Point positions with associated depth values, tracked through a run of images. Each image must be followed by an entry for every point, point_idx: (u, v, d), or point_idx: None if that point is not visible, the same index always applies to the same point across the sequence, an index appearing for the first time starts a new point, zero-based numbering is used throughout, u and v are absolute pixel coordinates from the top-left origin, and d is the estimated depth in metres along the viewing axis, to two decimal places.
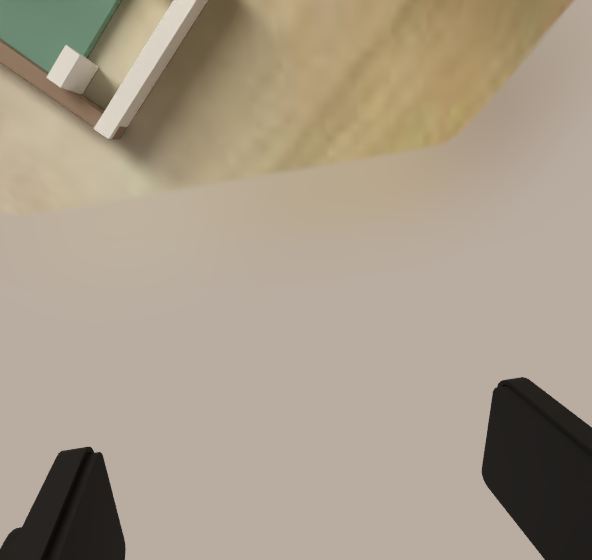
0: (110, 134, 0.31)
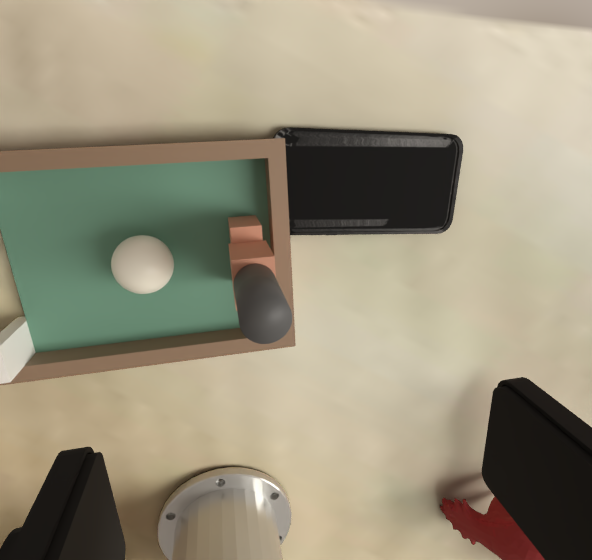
0: None
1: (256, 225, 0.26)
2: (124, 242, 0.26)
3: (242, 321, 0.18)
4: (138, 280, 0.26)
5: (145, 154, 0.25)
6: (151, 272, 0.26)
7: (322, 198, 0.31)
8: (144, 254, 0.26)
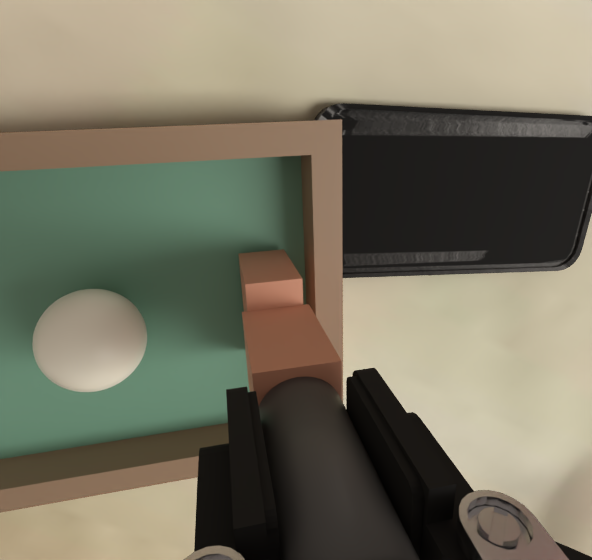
0: None
1: (292, 278, 0.14)
2: (55, 306, 0.15)
3: None
4: (78, 377, 0.14)
5: (87, 149, 0.14)
6: (102, 362, 0.14)
7: (388, 219, 0.19)
8: (88, 330, 0.14)
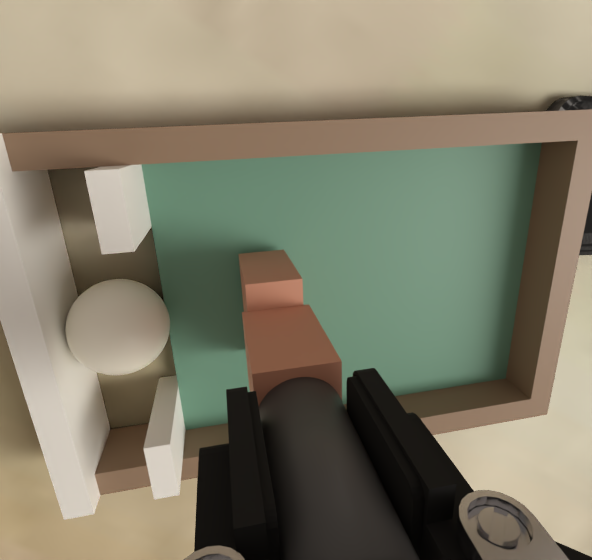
0: None
1: (292, 278, 0.14)
2: (112, 295, 0.16)
3: None
4: (164, 339, 0.17)
5: (406, 134, 0.16)
6: (169, 321, 0.17)
7: None
8: (157, 298, 0.17)
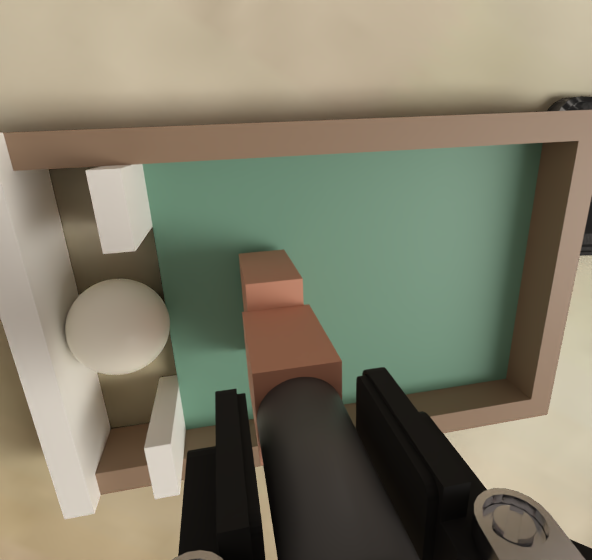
0: None
1: (292, 278, 0.14)
2: (111, 295, 0.16)
3: None
4: (163, 339, 0.17)
5: (407, 134, 0.16)
6: (169, 321, 0.17)
7: None
8: (156, 298, 0.17)
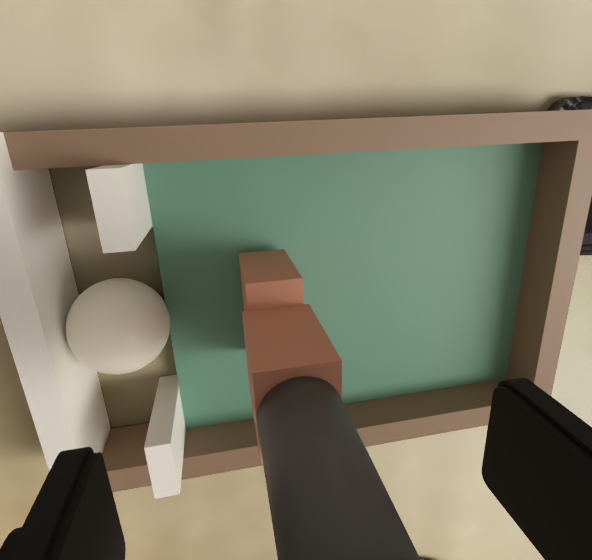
0: None
1: (292, 277, 0.14)
2: (112, 294, 0.16)
3: None
4: (164, 338, 0.17)
5: (407, 133, 0.16)
6: (169, 320, 0.17)
7: None
8: (157, 297, 0.17)
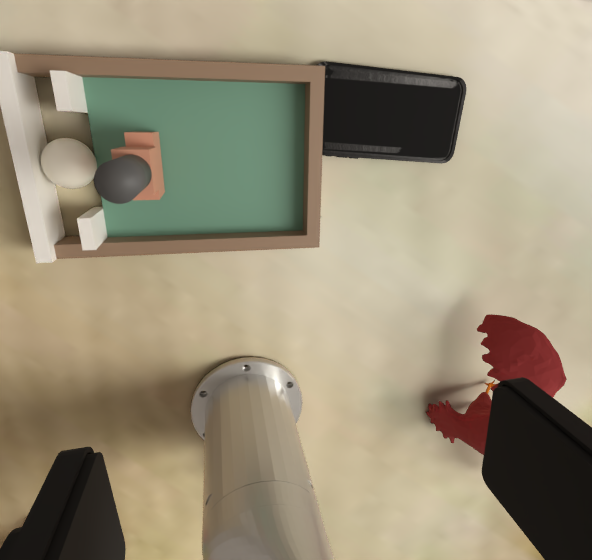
0: None
1: (148, 132, 0.30)
2: (64, 141, 0.32)
3: (96, 181, 0.23)
4: (91, 170, 0.33)
5: (213, 70, 0.32)
6: (96, 164, 0.34)
7: (348, 125, 0.38)
8: (89, 149, 0.33)
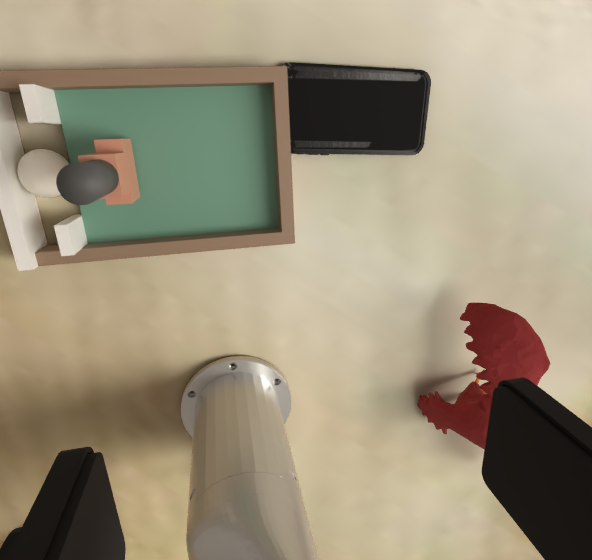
0: None
1: (117, 139, 0.32)
2: (39, 152, 0.33)
3: (59, 184, 0.24)
4: None
5: (178, 76, 0.33)
6: None
7: (316, 122, 0.38)
8: (63, 159, 0.34)
